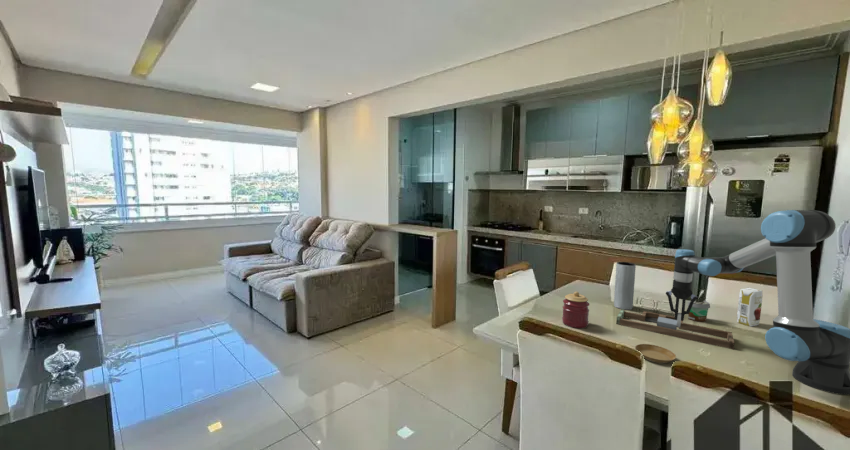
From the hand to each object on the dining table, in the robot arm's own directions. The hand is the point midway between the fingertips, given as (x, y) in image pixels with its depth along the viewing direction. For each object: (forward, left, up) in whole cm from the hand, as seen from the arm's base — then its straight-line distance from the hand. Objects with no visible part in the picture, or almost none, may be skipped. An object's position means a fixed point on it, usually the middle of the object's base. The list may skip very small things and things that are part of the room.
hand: (678, 326), depth 173 cm
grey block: (-1, +5, -3) cm, 6 cm away
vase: (+25, +28, -3) cm, 37 cm away
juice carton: (+37, -29, -3) cm, 47 cm away
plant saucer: (-38, +7, -4) cm, 39 cm away
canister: (-21, +44, -3) cm, 49 cm away
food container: (+27, -9, -3) cm, 28 cm away
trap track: (+4, +3, -3) cm, 6 cm away
